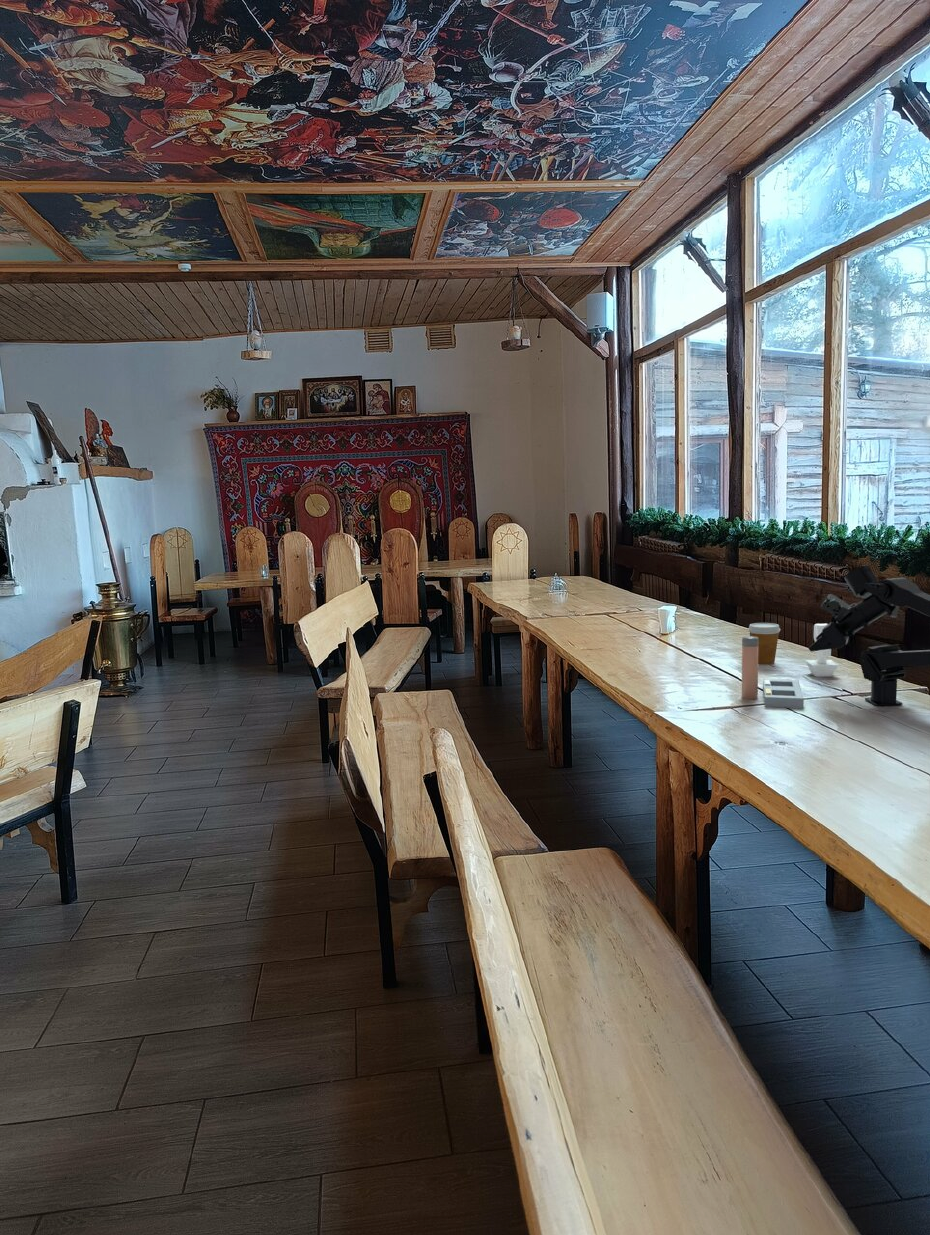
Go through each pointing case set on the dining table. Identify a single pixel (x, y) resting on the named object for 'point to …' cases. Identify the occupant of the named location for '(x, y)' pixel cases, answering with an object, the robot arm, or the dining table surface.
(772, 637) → the disposable coffee cup
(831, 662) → the figurine
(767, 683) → the socket plate
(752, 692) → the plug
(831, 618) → the robot arm
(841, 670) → the dining table surface
